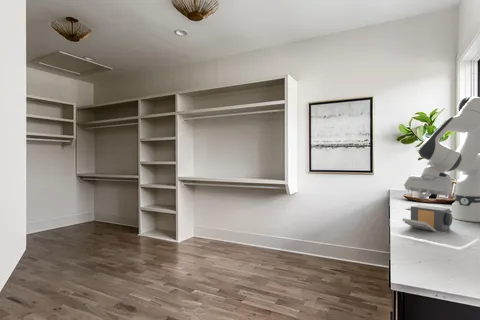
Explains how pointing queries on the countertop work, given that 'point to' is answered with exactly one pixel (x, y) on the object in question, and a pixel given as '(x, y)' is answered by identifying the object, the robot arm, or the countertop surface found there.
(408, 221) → the camera door
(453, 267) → the countertop surface
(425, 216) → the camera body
